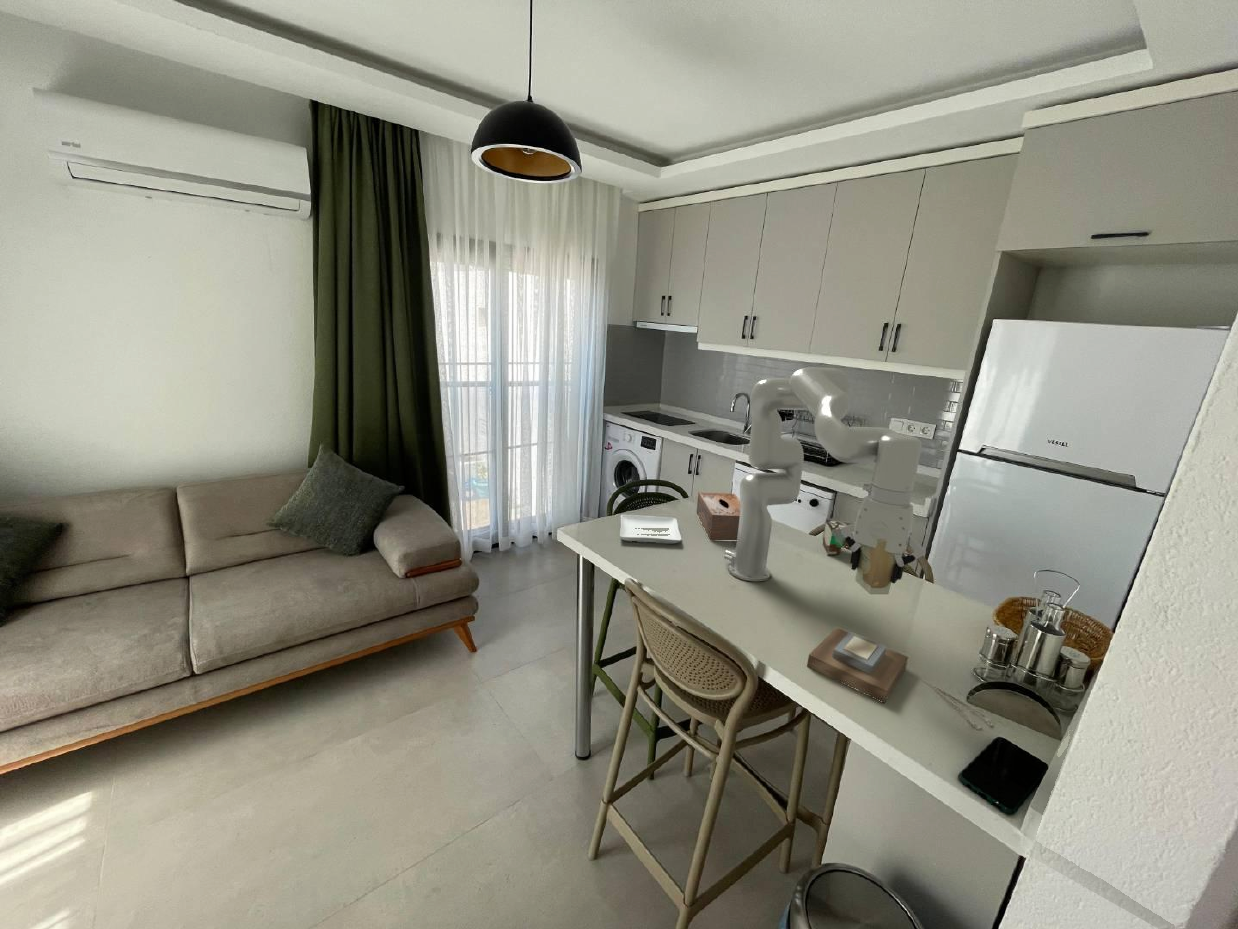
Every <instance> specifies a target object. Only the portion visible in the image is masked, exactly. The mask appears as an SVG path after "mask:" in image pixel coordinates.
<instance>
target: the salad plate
mask: <svg viewBox="0 0 1238 929" xmlns="http://www.w3.org/2000/svg"><path fill="white" fill-rule="evenodd" d="M635 528H637V529H635ZM638 528H640V529H638ZM641 528H669V530H668V531H666V532H665V531H662V532H660V533H659V532H657V531H656V532H654V531H652V530H649V531H648V530H643V529H641ZM637 534H639V535H637ZM641 534H670V535H668V536H658V535H657V536H651V535H649V536H647V535H641ZM619 537H620V538H621V539H622V540H624V541H626V542H632V541H637V542H636V543H647V542H656V543H655V544H669V545H670V544H678V543H680V542H681V541H682V535H681V532H680V528H679V524H678V520H677V518H675V517H667V516H664V517H663V516H655V515H654V516H653V515H640V514H639V515H638V514H636V515H635V514H621V515H620V531H619Z"/></svg>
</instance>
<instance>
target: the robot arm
mask: <svg viewBox="0 0 1238 929" xmlns="http://www.w3.org/2000/svg"><path fill="white" fill-rule="evenodd" d="M849 387H850V382H849V379H848V376H847V374H845V372H844V371H842V369H839V368H837V367H836V368H835V367H820V366H819V367H815V366H808V367H803V368H800V369H798V370H795V371H794V372H793V373H792V375H791V376H790V378H785V377H783V378H782V377H777V378H776V377H774V378H773V377H772V378H771V377H770V378H764V379H762V380H760V381H758V382H757V383H755V385H754V386H753V388H752V389H751V392H750V397H749V407H750V408H749V409H750V413H751V426H750V427H751V428H750V436H749V447H748V462H749V465H750V466H751V467H753V469H756V470H778V472H756V473H750V474H748V475H746V476H744V477H743V478H742V479H741V481H740V484H739V497H740V498H739V500H740V518H739V527H738V535H737V542H736V543H735V544H736V545H735V552H732V551H730V550H725V552H724V557H723V559H725V560H727V561H730V563H729V564H728V571H729V573H730V574H731V575H732V576H734V577H735V578H737V579H741V580H744V581H747V582H764V581H767V580H768V579H770V577H771V570H770V569H769V567H767V562H768V554H769V549H770V548H769V546H770V541H771V534H772V525H773V518H772V516H771V513H770V512H769V510H768V506H776V505H790V504H792V503H794V502H795V501H796V500H797V499H798V497H799V494H800V490H801V482H802V475H803V467H804V458H805V457H804V456H805V455H804V449H803V446H802V443H801V442H800V441H799V439H797V438H795V437H792V436H782V429H783V421H782V417H781V416H780V414H779V412H778V410H784V411H785V410H786V411H787V410H788V411H790V410H791V411H808V412H809V413H810V414H811V415H812V416H813V417H814V424H813V425H814V433H815V436H816V437H815V438H816V439H817V442H818V443H819V444H820V446H821V447H822V448H824V450H825V451H826V452H827V453H828V454H829V455H830V456H831V457H832V458H834V459H835V460H837V461H839V462H841V463H846V464H847V463H850V464H851V463H874V467H873V473H872V478H871V482H870V483H869V484H866V483H863V486H862V491H866V492H867V495H866V496H864V498H863V499H862V501H861V504H860V507H859V509H858V513H857V516H856V520H855V521H854V523H850V524H848V525H847V526H845V527H843V528H842V529H841V530H840V531H841V533H842V534H843V536H844V540H845V542H846V544H847V545H848V547H849V550H850V551H851V554H850V561H849V564H851V567H850V569H851V570H852V571H856V570H857V568H858V564H859V559H860V554H861V550H862V545H864V546H867V547H870V548H876V546H877V541H878V539H880V540H883V541H886V542H887V543H886V547H885V551H886V552H887V553H891V554H894V556H895V559H896V564H895V565H894V568H893V572H892V577H891V584H896V582H898V580H899V581H900V580H902V576H903V574H904V569H905V566H906V565H908V564H910V563H913V562H914V561H916V560H918V559H919V558H921V557H922V556H924V555H925V554H926V550H925V549H924V547H923V546H922V545H921V544H920V543H919V542H918V541H917V540H916V539H915V538H914V537H913V536H912V535H913V534H912V533H913V524H914V505H913V504H911V501H912V494H913V492H914V486H915V481H916V476H917V471H918V467H919V461H920V457H921V452H922V447H923V446H922V442H921V440H920V439H919V438H917V437H915V436H911V435H907V434H901V433H898V432H896V431H895V430H892V429H890V428H888V427H883V426H881V427H880V426H877V427H876V426H874V427H872V426H847V425H845V423H843V422H842V419H843V418H844V417H845V416H846V415H847V413H848V412H849V410H850V408H851V399H850V397H849V395H847V394H848V392H849V389H850V388H849ZM851 531H853V532H852V533H851ZM909 547H910V548H911V549H912V550H913V552H911V553H910V554H908V555H906V553H905V552H906V551H907V550H908V549H909Z"/></svg>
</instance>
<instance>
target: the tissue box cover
mask: <svg viewBox="0 0 1238 929" xmlns="http://www.w3.org/2000/svg"><path fill="white" fill-rule="evenodd" d="M696 513H697V515H698V516H699V519H700V521H701V522H702V525H703V527H704V528H705V531H706V533H707V534H708V537H709V539H710V540H737V535H738V527H739V518H740V498H738V496H737V495H736V494H735V493H728V492H704V491H703V492H700V491H699V492H698V493H697V504H696ZM702 525H701V526H702ZM703 527H702V528H703ZM705 531H704V532H705ZM706 533H705V534H706ZM708 537H707V538H708ZM709 539H708V540H709Z"/></svg>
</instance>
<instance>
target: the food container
mask: <svg viewBox="0 0 1238 929" xmlns="http://www.w3.org/2000/svg"><path fill="white" fill-rule="evenodd" d="M824 524H825V525H824V530H823V537H822V539H823V540H822V544H821V545H822V547H823V549H824V551H825V553H826V556H827V557H836V556H837V555H838V556H839V555H841V551H842V548H843V545H844V540H845V538H844V536H843V534H842V533H841V531H840V530H841V529H842V528H843V527H845V526H848V525H847V523H844V522H843V521H840V520H837V519H834V518H829V517H826V518H825V523H824ZM838 556H837V557H838Z"/></svg>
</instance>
